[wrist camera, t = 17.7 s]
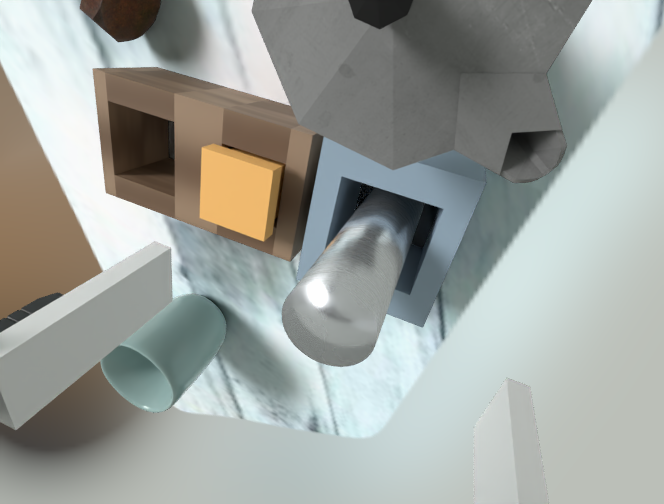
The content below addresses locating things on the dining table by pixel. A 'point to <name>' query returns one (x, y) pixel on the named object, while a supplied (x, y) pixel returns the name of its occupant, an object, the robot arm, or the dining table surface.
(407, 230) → the brushed steel rod
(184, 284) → the dining table surface
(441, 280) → the block
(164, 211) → the socket block
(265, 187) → the release button
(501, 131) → the coffeepot
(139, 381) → the cup
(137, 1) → the bolt
